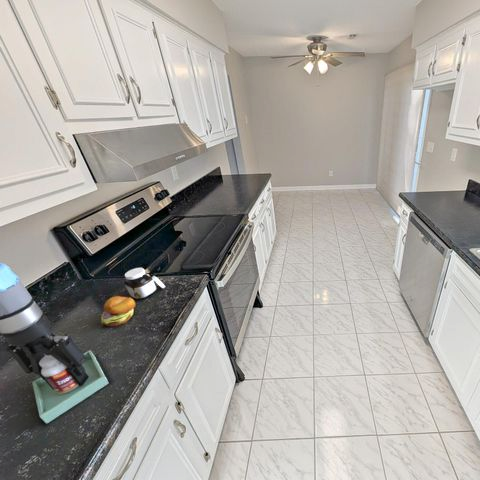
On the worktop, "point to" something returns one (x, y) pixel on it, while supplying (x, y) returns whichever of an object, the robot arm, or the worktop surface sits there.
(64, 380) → the pill bottle
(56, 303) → the worktop surface
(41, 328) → the robot arm
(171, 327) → the worktop surface
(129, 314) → the cheeseburger
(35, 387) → the tray
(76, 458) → the worktop surface
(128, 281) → the spread jar
